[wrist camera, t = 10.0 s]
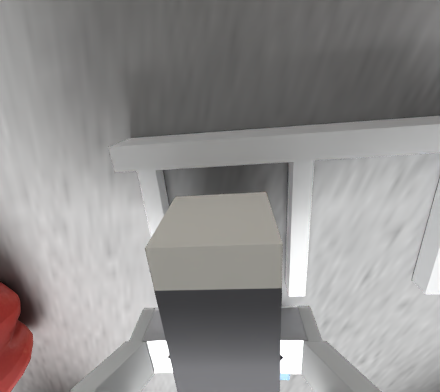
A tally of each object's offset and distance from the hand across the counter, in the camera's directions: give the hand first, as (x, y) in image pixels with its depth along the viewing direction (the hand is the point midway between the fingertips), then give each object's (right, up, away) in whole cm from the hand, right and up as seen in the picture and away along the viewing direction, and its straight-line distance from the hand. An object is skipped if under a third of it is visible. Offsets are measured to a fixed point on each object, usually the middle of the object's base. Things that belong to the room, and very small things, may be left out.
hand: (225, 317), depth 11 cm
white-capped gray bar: (0, +1, +2) cm, 2 cm away
